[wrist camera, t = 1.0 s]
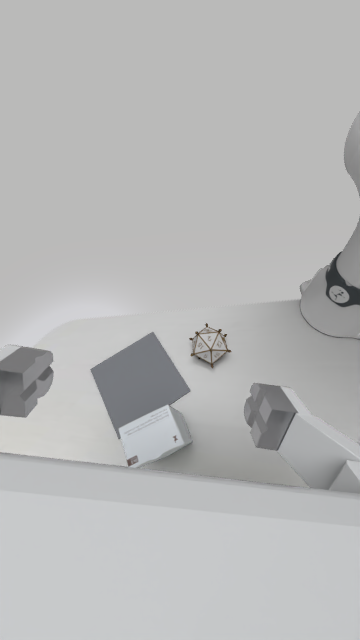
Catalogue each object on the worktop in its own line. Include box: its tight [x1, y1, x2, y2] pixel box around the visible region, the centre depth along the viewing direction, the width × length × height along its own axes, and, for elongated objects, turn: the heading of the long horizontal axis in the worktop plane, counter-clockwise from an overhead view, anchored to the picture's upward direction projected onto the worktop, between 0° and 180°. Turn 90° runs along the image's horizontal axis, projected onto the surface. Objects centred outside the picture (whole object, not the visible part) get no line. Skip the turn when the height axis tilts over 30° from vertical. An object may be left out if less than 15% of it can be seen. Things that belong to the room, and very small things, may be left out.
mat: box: [91, 332, 190, 439], centre depth 49 cm, size 17×17×1 cm
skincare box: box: [119, 405, 193, 468], centre depth 37 cm, size 8×6×15 cm
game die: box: [189, 323, 231, 368], centre depth 47 cm, size 9×8×10 cm
